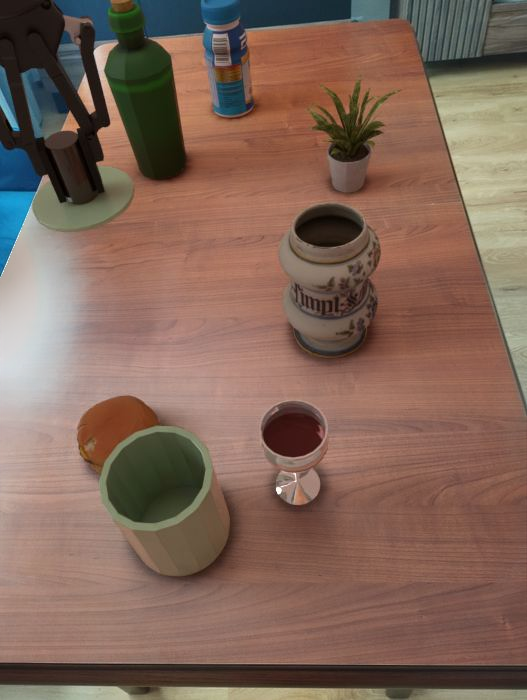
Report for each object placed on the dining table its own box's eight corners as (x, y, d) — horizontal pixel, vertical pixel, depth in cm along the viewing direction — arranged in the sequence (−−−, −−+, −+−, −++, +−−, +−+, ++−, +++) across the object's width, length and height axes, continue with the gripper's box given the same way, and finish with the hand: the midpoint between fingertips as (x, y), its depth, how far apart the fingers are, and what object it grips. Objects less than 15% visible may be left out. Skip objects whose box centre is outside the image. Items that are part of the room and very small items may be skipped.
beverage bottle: (204, 109, 117) (185, 1, 101) (236, 92, 120) (222, -15, 104) (231, 124, 113) (216, 13, 97) (263, 106, 116) (253, -4, 100)
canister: (115, 548, 62) (76, 499, 52) (169, 468, 68) (142, 410, 58) (197, 594, 58) (171, 551, 49) (247, 506, 64) (233, 451, 54)
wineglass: (255, 478, 66) (244, 422, 56) (303, 446, 68) (299, 387, 59) (291, 525, 62) (285, 473, 53) (341, 489, 64) (343, 433, 55)
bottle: (200, 151, 108) (168, -17, 86) (182, 187, 101) (142, 15, 79) (146, 148, 110) (101, -17, 88) (126, 183, 104) (72, 14, 82)
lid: (15, 221, 66) (-18, 158, 60) (79, 165, 72) (55, 102, 66) (94, 248, 62) (68, 183, 56) (155, 186, 68) (137, 121, 62)
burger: (178, 424, 71) (169, 403, 67) (138, 491, 66) (127, 472, 63) (111, 400, 74) (100, 379, 71) (68, 462, 69) (53, 442, 66)
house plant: (375, 147, 104) (381, 54, 91) (410, 191, 95) (423, 95, 82) (299, 167, 102) (295, 75, 89) (329, 214, 93) (329, 119, 81)
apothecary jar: (308, 287, 84) (304, 181, 70) (388, 311, 80) (401, 204, 66) (269, 347, 77) (256, 244, 63) (354, 377, 73) (360, 274, 59)
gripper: (-123, -10, 44) (8, 229, 63) (93, -54, 46) (159, 191, 65) (-113, -42, 49) (6, 190, 67) (83, -80, 51) (147, 155, 69)
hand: (81, 190), depth 66 cm, fingers closed on lid, 4 cm apart
